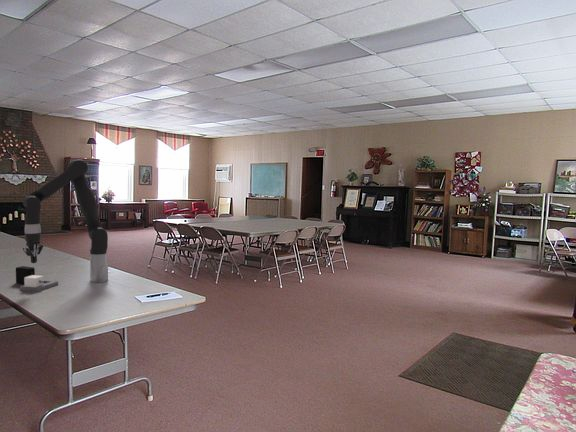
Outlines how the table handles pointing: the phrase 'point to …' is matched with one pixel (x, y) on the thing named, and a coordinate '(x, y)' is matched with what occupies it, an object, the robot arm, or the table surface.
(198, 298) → the table surface
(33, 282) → the plug
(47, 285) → the socket plate
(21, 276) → the electronic device
